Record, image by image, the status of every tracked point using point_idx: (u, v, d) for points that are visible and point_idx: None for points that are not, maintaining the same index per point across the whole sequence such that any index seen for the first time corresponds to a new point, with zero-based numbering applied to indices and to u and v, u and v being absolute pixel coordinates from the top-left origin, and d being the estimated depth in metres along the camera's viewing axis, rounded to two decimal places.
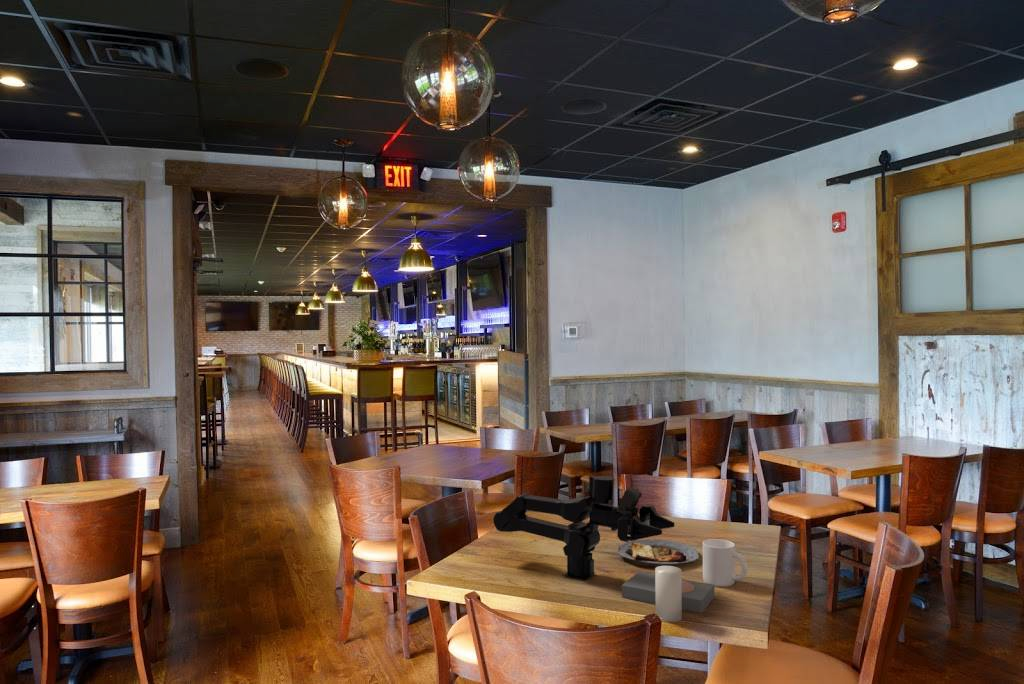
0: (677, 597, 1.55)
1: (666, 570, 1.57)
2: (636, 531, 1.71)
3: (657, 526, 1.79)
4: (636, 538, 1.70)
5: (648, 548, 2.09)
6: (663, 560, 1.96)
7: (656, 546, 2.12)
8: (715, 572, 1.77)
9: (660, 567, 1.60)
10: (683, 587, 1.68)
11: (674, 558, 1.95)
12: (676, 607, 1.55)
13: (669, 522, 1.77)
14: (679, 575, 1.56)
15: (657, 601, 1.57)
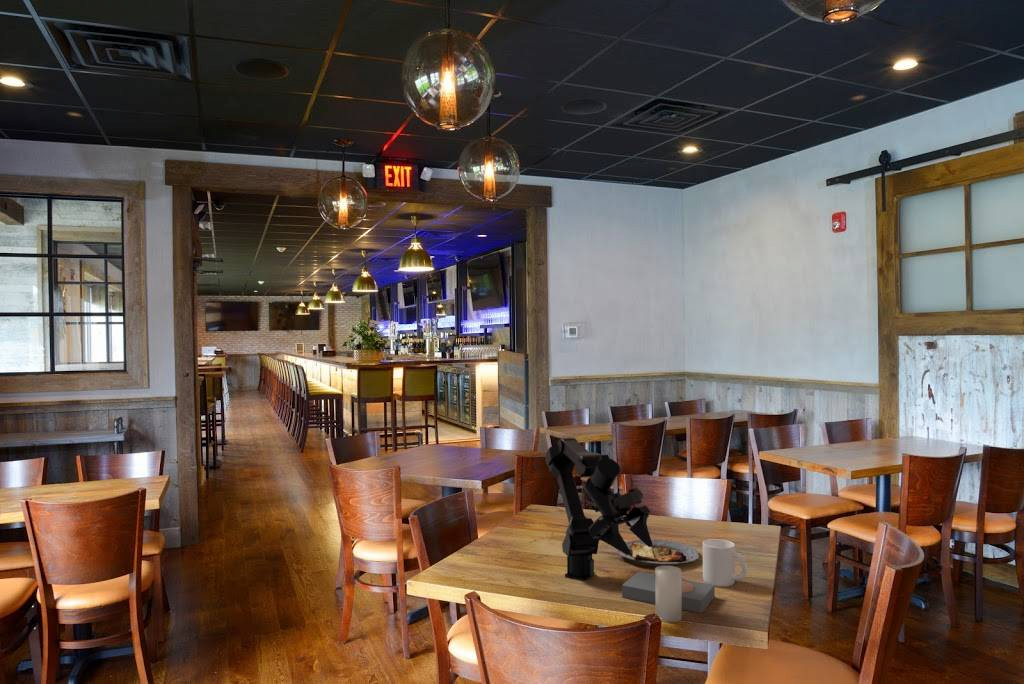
0: (677, 597, 1.55)
1: (666, 570, 1.57)
2: (609, 534, 1.64)
3: (637, 533, 1.71)
4: (604, 540, 1.64)
5: (648, 548, 2.09)
6: (663, 560, 1.96)
7: (656, 546, 2.12)
8: (715, 572, 1.77)
9: (660, 567, 1.60)
10: (683, 587, 1.68)
11: (674, 558, 1.95)
12: (676, 607, 1.55)
13: (648, 541, 1.68)
14: (679, 575, 1.56)
15: (657, 601, 1.57)
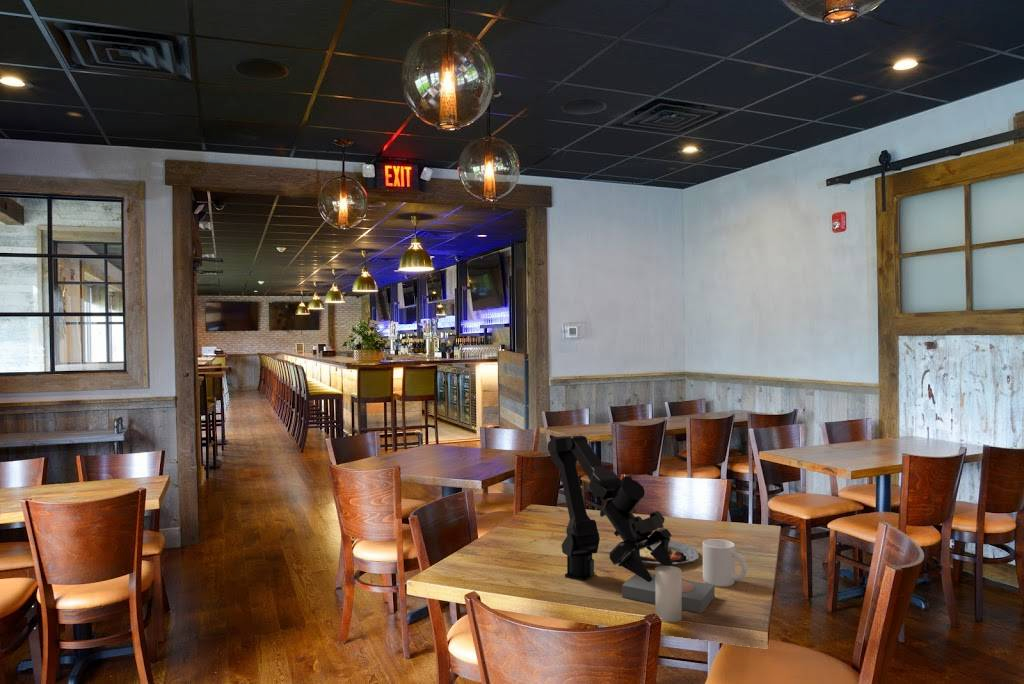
0: (677, 597, 1.55)
1: (666, 571, 1.57)
2: (630, 560, 1.59)
3: (658, 557, 1.66)
4: (625, 566, 1.59)
5: None
6: None
7: None
8: (715, 572, 1.77)
9: (660, 567, 1.60)
10: (683, 587, 1.68)
11: (674, 558, 1.95)
12: (676, 607, 1.55)
13: None
14: (679, 575, 1.56)
15: (657, 601, 1.57)
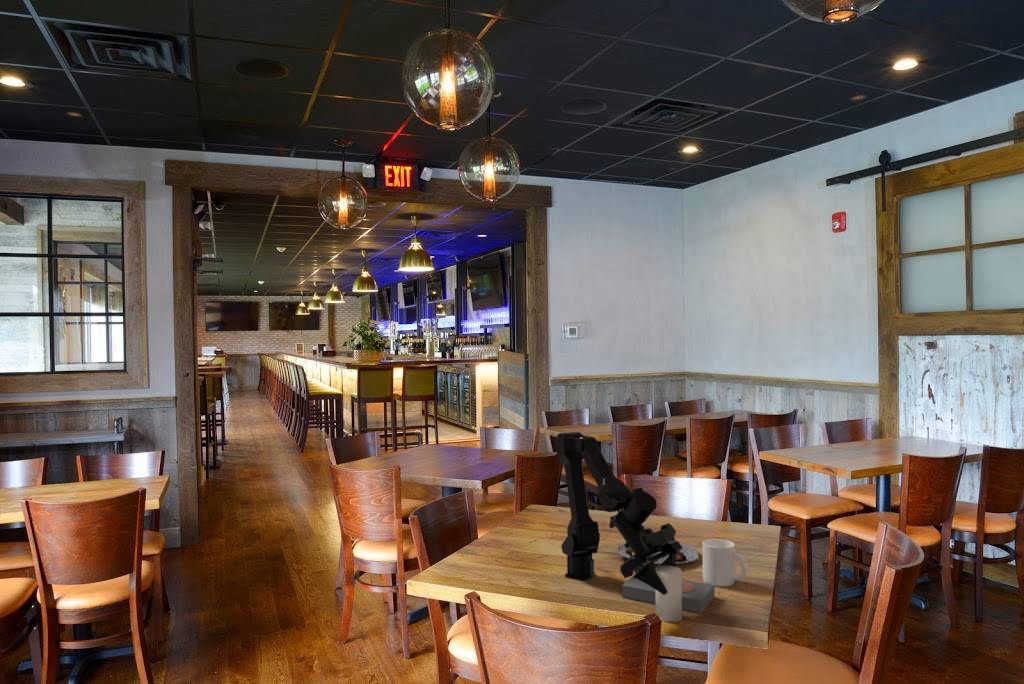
0: (677, 597, 1.55)
1: (666, 570, 1.57)
2: (644, 572, 1.57)
3: None
4: (639, 578, 1.57)
5: None
6: None
7: None
8: (715, 572, 1.77)
9: (660, 567, 1.60)
10: (683, 587, 1.68)
11: None
12: (676, 606, 1.55)
13: None
14: (679, 575, 1.56)
15: (657, 601, 1.57)
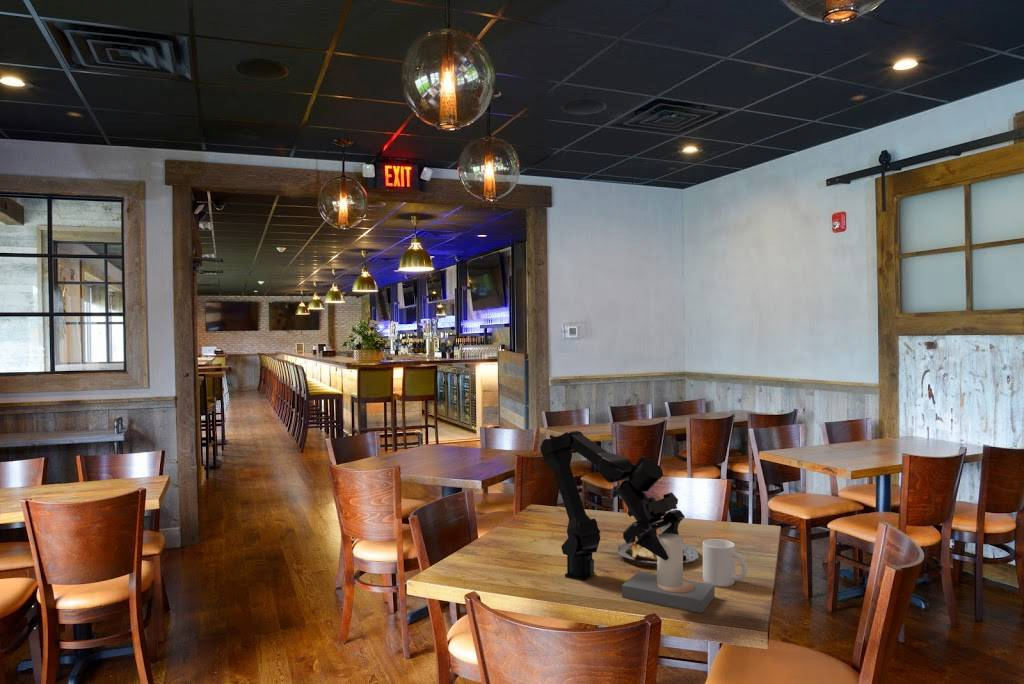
0: (678, 563, 1.60)
1: (668, 537, 1.61)
2: (647, 539, 1.62)
3: None
4: (642, 545, 1.62)
5: None
6: None
7: None
8: (715, 572, 1.77)
9: (662, 534, 1.64)
10: (683, 587, 1.68)
11: None
12: (677, 572, 1.59)
13: None
14: (680, 542, 1.60)
15: (659, 567, 1.61)
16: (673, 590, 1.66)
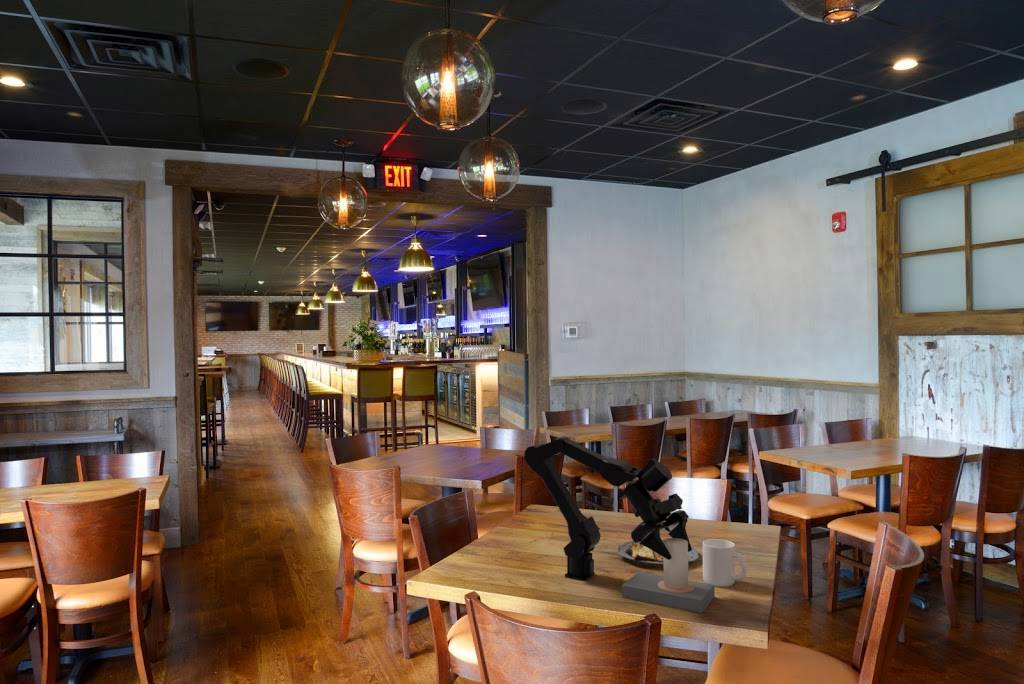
0: (684, 566, 1.67)
1: (674, 542, 1.69)
2: (650, 539, 1.68)
3: (676, 537, 1.75)
4: (645, 545, 1.68)
5: (648, 548, 2.09)
6: None
7: None
8: (715, 572, 1.77)
9: (668, 539, 1.71)
10: None
11: None
12: (683, 575, 1.67)
13: (688, 545, 1.72)
14: (685, 546, 1.67)
15: (665, 570, 1.68)
16: (673, 590, 1.66)
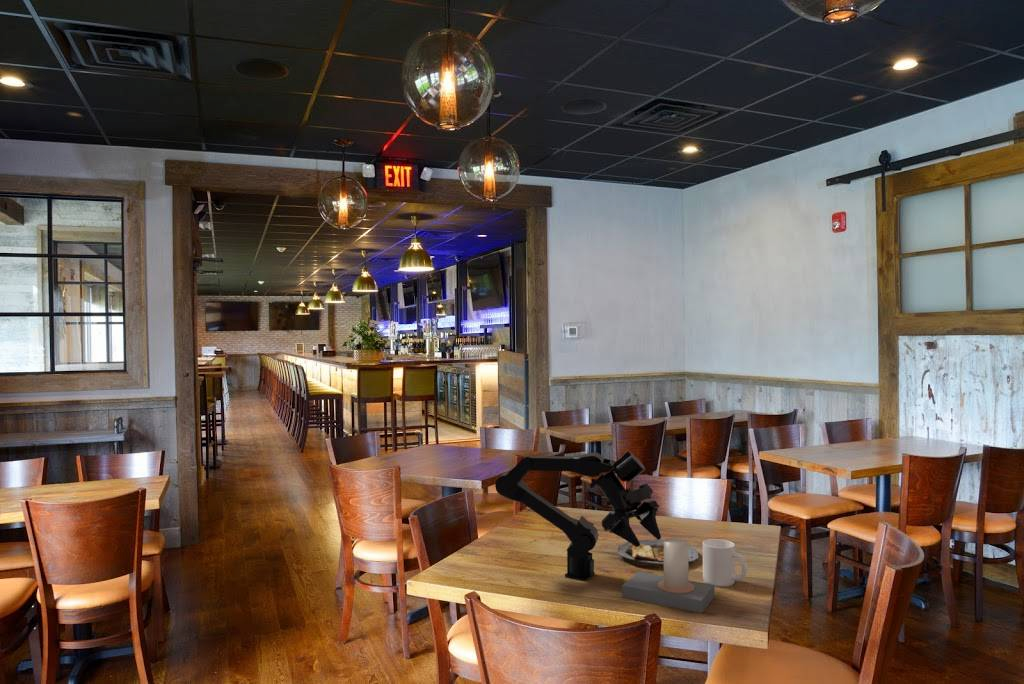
0: (684, 566, 1.67)
1: (674, 542, 1.69)
2: (620, 527, 1.74)
3: (646, 526, 1.81)
4: (616, 533, 1.74)
5: (648, 548, 2.09)
6: (663, 560, 1.96)
7: (656, 546, 2.12)
8: (715, 572, 1.77)
9: (668, 539, 1.71)
10: None
11: None
12: (683, 575, 1.67)
13: (657, 533, 1.78)
14: (686, 546, 1.67)
15: (665, 570, 1.68)
16: (673, 590, 1.66)
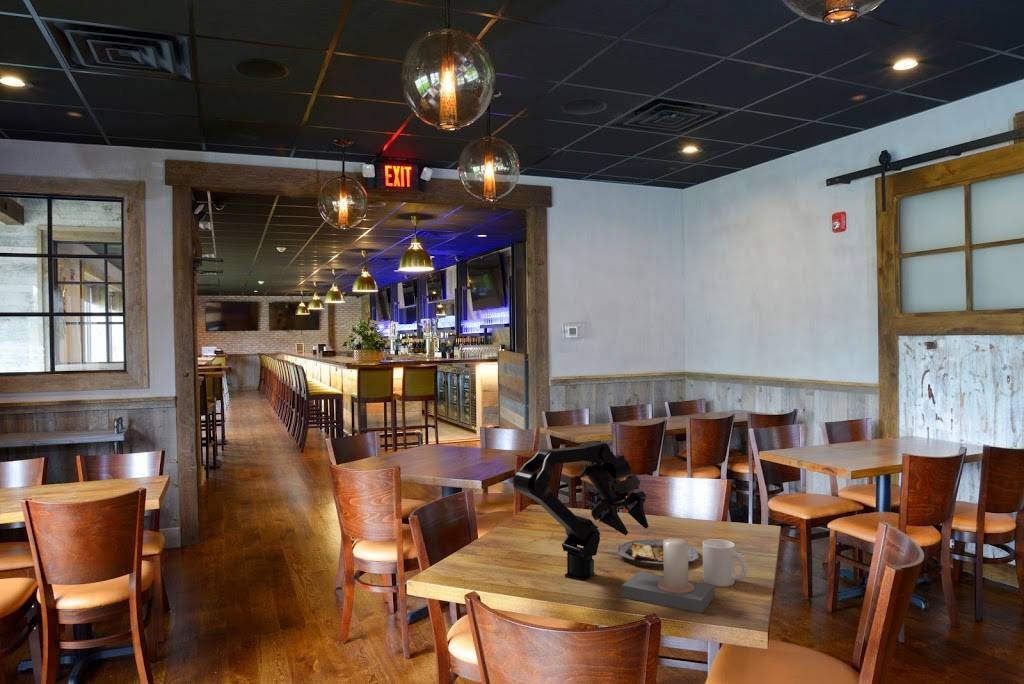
0: (684, 566, 1.67)
1: (674, 542, 1.69)
2: (609, 517, 1.81)
3: (634, 515, 1.88)
4: (604, 522, 1.81)
5: (648, 548, 2.09)
6: None
7: (656, 546, 2.12)
8: (715, 572, 1.77)
9: (668, 539, 1.71)
10: None
11: None
12: (683, 575, 1.67)
13: (645, 523, 1.85)
14: (686, 546, 1.67)
15: (665, 570, 1.68)
16: (673, 590, 1.66)
